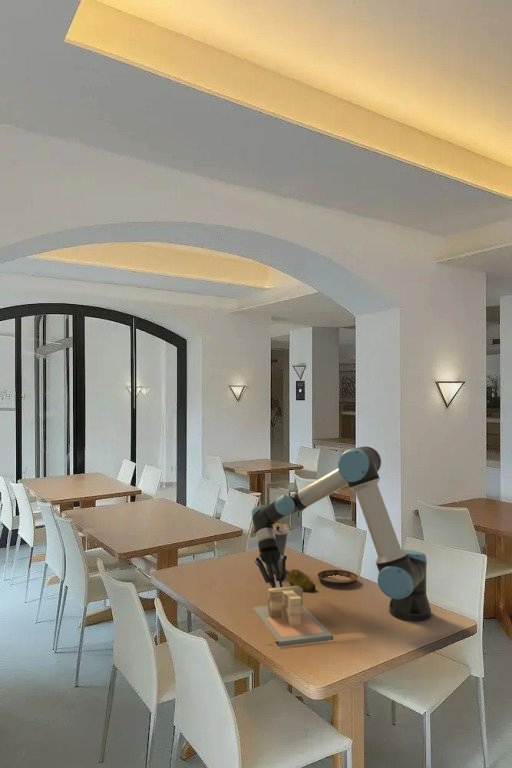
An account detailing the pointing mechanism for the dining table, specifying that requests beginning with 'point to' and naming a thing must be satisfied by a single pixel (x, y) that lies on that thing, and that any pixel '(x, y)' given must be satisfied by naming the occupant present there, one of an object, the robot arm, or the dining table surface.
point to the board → (295, 628)
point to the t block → (286, 603)
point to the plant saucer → (336, 582)
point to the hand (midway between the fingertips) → (279, 599)
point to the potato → (300, 580)
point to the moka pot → (280, 543)
